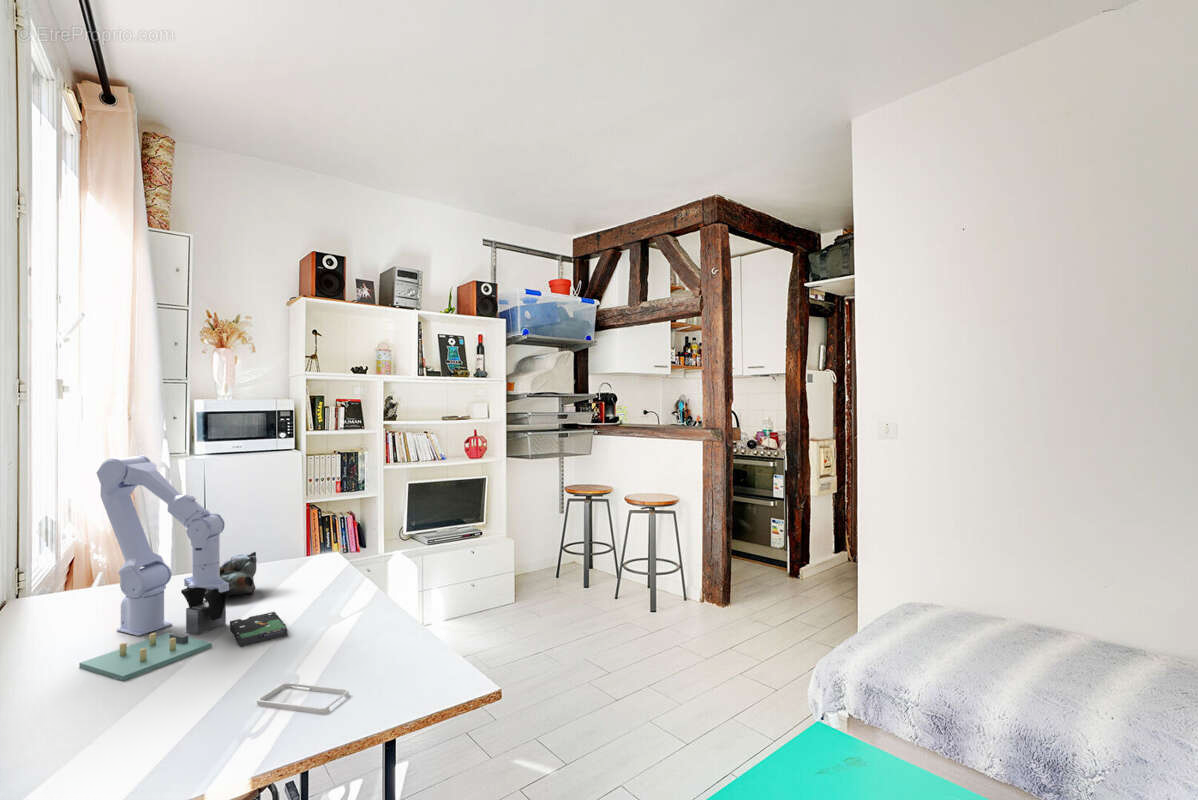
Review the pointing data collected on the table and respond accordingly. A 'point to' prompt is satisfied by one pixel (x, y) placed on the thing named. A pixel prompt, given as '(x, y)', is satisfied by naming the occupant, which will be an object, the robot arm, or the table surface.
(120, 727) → the table surface
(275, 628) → the disk drive
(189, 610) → the dark grey block
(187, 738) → the table surface
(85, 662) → the teal peg board
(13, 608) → the table surface
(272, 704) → the phone case
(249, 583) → the grey lumpy piece
